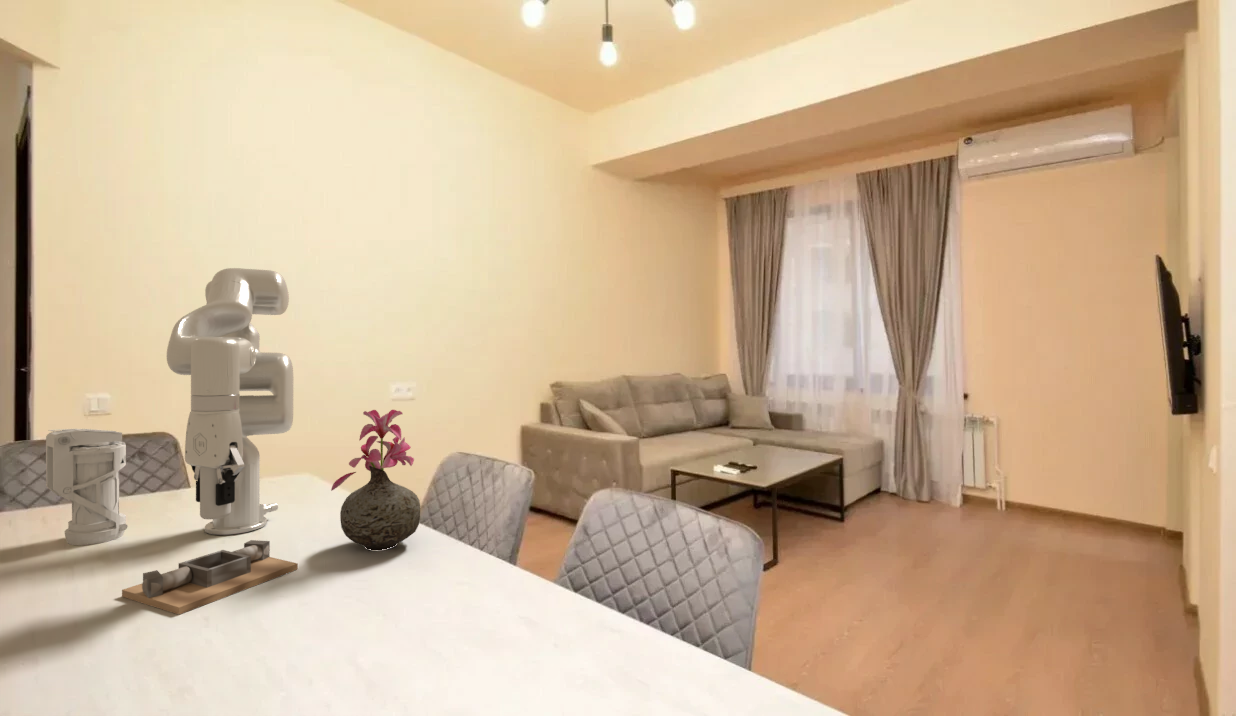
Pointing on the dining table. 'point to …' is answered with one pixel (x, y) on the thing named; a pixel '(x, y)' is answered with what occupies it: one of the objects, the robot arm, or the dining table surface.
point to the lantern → (88, 481)
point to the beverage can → (211, 495)
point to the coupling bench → (209, 578)
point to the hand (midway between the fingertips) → (215, 501)
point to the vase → (380, 492)
